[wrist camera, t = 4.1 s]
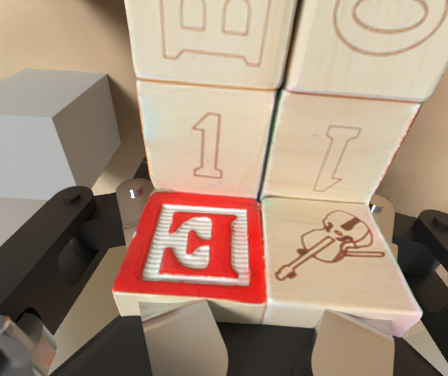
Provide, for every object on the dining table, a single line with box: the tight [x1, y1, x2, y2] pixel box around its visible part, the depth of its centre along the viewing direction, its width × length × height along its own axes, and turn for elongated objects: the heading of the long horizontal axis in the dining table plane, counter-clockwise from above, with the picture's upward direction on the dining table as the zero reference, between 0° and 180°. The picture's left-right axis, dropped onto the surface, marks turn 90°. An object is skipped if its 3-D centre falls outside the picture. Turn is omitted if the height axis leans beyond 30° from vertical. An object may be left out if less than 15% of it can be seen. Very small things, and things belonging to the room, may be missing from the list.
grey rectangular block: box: [0, 69, 121, 200], centre depth 19 cm, size 6×6×8 cm
